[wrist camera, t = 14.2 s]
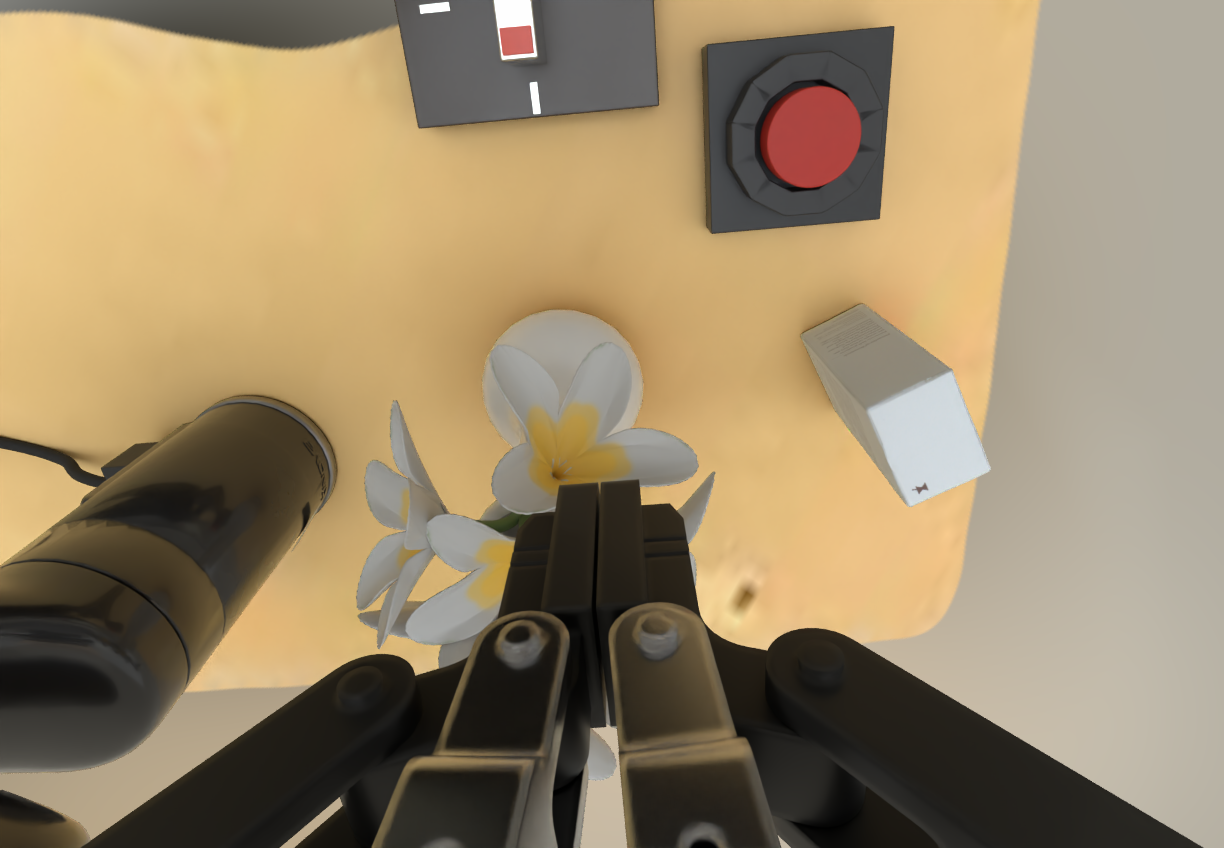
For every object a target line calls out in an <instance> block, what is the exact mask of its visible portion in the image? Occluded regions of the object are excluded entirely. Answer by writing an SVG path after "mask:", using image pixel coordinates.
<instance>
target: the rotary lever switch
mask: <svg viewBox="0 0 1224 848" xmlns="http://www.w3.org/2000/svg"><path fill="white" fill-rule="evenodd" d="M394 1H395V6H396V12H397V17H398V22H399V28H400V33H401V38H402V43H403V49H404V54H405V59H406V65H407V70H408V75H409V81H410V86H411V91H412V96H413V102H414V107H415V112H416V118H417V123H418V127H419V128H431V127H441V126H452V125H463V124H473V123H484V122H494V121H505V120H515V119H526V118H536V117H547V116H557V115H568V114H578V113H589V112H600V111H610V110H621V109H631V108H642V107H652V106H658V105H659V94H658V75H657V56H656V36H655V17H654V0H541V6H542V16H543V25H544V34H545V44H546V53H547V62H548V63H547V64H546V65H536V66H526V67H514V66H512V65H509V64H507V63H505V62H502V61H501V59H500V52H499V44H498V37H497V29H496V22H495V14H494V7H493V0H394Z"/></svg>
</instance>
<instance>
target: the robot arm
mask: <svg viewBox="0 0 1224 848" xmlns="http://www.w3.org/2000/svg"><path fill="white" fill-rule="evenodd" d="M0 448H2V449H7V450H12V451H17V452H21V453H25V454H29V455H33V456H36V457H40V458H43V459H46V460H49V461H52V462H55V463H57V464H60V465H61V466H63V467H64V468H65V470H66V472H67V473H68V474H69V475H70V476H71V477H72V478H73V479H74V480H76V481H78V482H81V483H83V484H86V485H89V486H93V487H97V488H95V489H94V490H93V491H91V492H90V493H88V494H87V495H86V496H85V497H84V498H83V499H82V501H81V503H80V506H79V507H78V508H76V509H75V510H74V511H72V512H71V513H70V514H68V515H67V516H66V517H64V518H63V519H62V520H60V521H59V522H58V523H56V524H55V525H54V526H52V527H51V528H50V529H48V530H47V531H46V532H44V533H43V534H42V535H40V536H39V537H38V538H37V539H35V540H34V541H33V542H31V543H30V544H29V545H27V546H26V547H24V548H23V549H22V550H20V551H19V552H18V553H16V554H15V555H14V556H12V557H11V558H10V559H8V560H7V561H6V562H4V563H3V564H2V565H0V774H11V773H60V772H72V771H80V770H86V769H91V768H95V767H99V766H102V765H105V764H108V763H110V762H113V761H116V760H117V759H119V758H121V757H123V756H125V755H127V754H129V753H130V752H132V751H133V750H134V749H136V748H137V747H138V746H139V745H141V744H142V743H143V742H144V741H145V740H146V739H147V738H148V737H149V736H150V735H151V734H152V733H153V732H154V731H155V729H156V728H157V727H158V726H159V725H160V723H161V722H162V721H163V719H164V718H165V717H166V715H167V714H168V713H169V711H170V710H171V709H172V707H173V706H174V704H175V703H176V702H177V700H178V699H179V698H180V696H181V695H182V694H183V692H184V691H185V690H186V688H187V687H188V686H189V684H190V683H191V682H192V680H193V679H194V678H195V676H196V675H197V673H198V672H199V671H200V669H201V668H202V667H203V665H204V664H205V663H206V661H207V660H208V659H209V657H210V656H211V655H212V653H213V652H214V650H215V649H216V648H217V646H218V645H219V643H220V642H221V641H222V639H223V638H224V637H225V635H226V634H227V632H228V631H229V630H230V628H231V627H232V626H233V624H234V623H235V622H236V620H237V619H238V618H239V616H240V615H241V614H242V612H243V611H244V610H245V608H246V607H247V605H248V604H249V603H250V601H251V600H252V599H253V597H254V596H255V595H256V593H257V592H258V591H259V589H260V588H261V587H262V585H263V584H264V582H265V581H266V580H267V578H268V577H269V576H270V574H271V573H272V572H273V570H274V569H275V568H276V566H277V565H278V564H279V562H280V561H281V559H282V558H283V557H284V555H285V554H286V553H287V551H288V550H289V549H290V547H291V546H292V545H293V543H294V542H295V541H296V539H297V538H298V537H299V535H300V534H301V533H302V531H303V530H304V531H303V533H302V535H301V536H300V538H299V540H298V542H297V543H296V545H297V544H298V543H299V541H300V539H301V537H302V536H303V534H304V532H305V530H306V529H307V527H308V525H309V524H310V522H311V520H312V518H313V517H314V515H315V514H316V513H317V512H318V511H319V510H320V509H321V508H322V507H323V506H324V504H325V503H326V501H327V500H328V499H329V497H330V495H331V493H332V491H333V489H334V486H335V482H336V462H335V458H334V455H333V452H332V449H331V447H330V445H329V443H328V441H327V439H326V438H325V436H324V435H323V433H322V432H321V431H320V430H319V428H318V427H317V426H316V425H315V424H314V423H313V422H312V421H311V420H310V419H308V418H307V417H306V416H305V415H303V414H302V413H301V412H299V411H297V410H296V409H294V408H292V407H290V406H289V405H287V404H284V403H282V402H279V401H276V400H273V399H270V398H265V397H259V396H237V397H232V398H228V399H225V400H222V401H220V402H218V403H216V404H214V405H213V406H211V407H210V408H208V409H207V410H206V411H204V412H203V413H202V414H200V415H199V416H198V417H197V418H196V419H195V421H194V422H192V423H188V424H183V425H182V426H180V427H179V428H177V429H176V430H175V431H173V432H172V433H171V434H169V435H168V436H166V437H165V438H164V439H162V440H161V441H160V442H154V443H141V444H135V445H133V446H132V447H130V448H129V449H127V450H126V451H125V452H123V453H122V454H120V455H119V456H117V457H116V458H114V459H113V460H112V461H110V462H109V463H107V464H106V465H104V466H103V467H102V468H101V470H102V472H103V475H104V477H101V476H97V475H94V474H91V473H88V472H86V471H84V470H82V469H81V468H80V467H79V465H78V464H77V462H76V461H75V460H74V459H73V458H72V457H70V456H68V455H66V454H64V453H61V452H58V451H55V450H52V449H49V448H46V447H42V446H39V445H35V444H31V443H27V442H22V441H18V440H14V439H9V438H3V437H0ZM305 527H306V528H305ZM296 545H295V547H296ZM295 547H294V548H295ZM294 548H293V549H294ZM292 551H293V550H292ZM606 701H607V702H608V710H609V719H610V726H611V727H612V726H617V734H618V744H619V762H620V775H621V785H622V795H623V806H624V816H625V828H626V839H627V848H781V845H780V842H779V838H778V835H779V837H780V838H781V839H782V840H784V841H785V842H786V843H787V844H788V845H789V846H790V847H791V848H1203V847H1201V846H1200V845H1198V844H1196V843H1194V842H1193V841H1191V840H1190V839H1188V838H1186V837H1184V836H1183V835H1181V834H1179V833H1178V832H1176V831H1174V830H1173V829H1171V828H1169V827H1167V826H1166V825H1164V824H1163V823H1161V822H1159V821H1157V820H1156V819H1154V818H1152V817H1151V816H1149V815H1147V814H1146V813H1144V812H1142V811H1140V810H1139V809H1137V808H1135V807H1134V806H1132V805H1131V804H1129V803H1127V802H1126V801H1124V800H1122V799H1120V798H1119V797H1117V796H1115V795H1114V794H1112V793H1110V792H1109V791H1107V790H1105V789H1104V788H1102V787H1100V786H1099V785H1097V784H1095V783H1093V782H1092V781H1090V780H1088V779H1087V778H1085V777H1083V776H1082V775H1080V774H1078V773H1077V772H1075V771H1073V770H1071V769H1070V768H1068V767H1067V766H1065V765H1063V764H1062V763H1060V762H1058V761H1056V760H1054V759H1053V758H1051V757H1050V756H1048V755H1046V754H1045V753H1043V752H1041V751H1040V750H1038V749H1036V748H1035V747H1033V746H1031V745H1030V744H1028V743H1026V742H1024V741H1023V740H1021V739H1019V738H1018V737H1016V736H1014V735H1013V734H1011V733H1009V732H1008V731H1006V730H1004V729H1003V728H1001V727H999V726H997V725H996V724H994V723H992V722H991V721H989V720H987V719H986V718H984V717H982V716H981V715H979V714H977V713H976V712H974V711H972V710H970V709H969V708H967V707H966V706H964V705H962V704H960V703H959V702H957V701H955V700H954V699H952V698H950V697H949V696H947V695H945V694H943V693H942V692H940V691H939V690H936V689H935V688H934V687H932V686H930V685H928V684H927V683H925V682H923V681H922V680H920V679H918V678H917V677H915V676H913V675H912V674H910V673H908V672H907V671H905V670H903V669H902V668H900V667H898V666H896V665H895V664H893V663H891V662H890V661H888V660H886V659H885V658H883V657H881V656H880V655H878V654H876V653H875V652H873V651H871V650H870V649H868V648H866V647H864V646H863V645H861V644H859V643H858V642H856V641H854V640H853V639H851V638H849V637H847V636H845V635H843V634H840V633H837V632H834V631H830V630H826V629H819V628H805V629H797V630H793V631H790V632H788V633H785V634H783V635H781V636H780V637H778V638H777V639H776V640H775V641H774V642H773V643H772V644H771V645H770V647H769V648H768V651H767V650H761V649H756V648H750V647H745V646H741V645H737V644H735V643H732V642H729V641H727V640H725V639H723V638H721V637H720V636H718V635H717V634H715V633H714V632H713V631H712V630H710V629H709V628H708V627H707V625H706V624H705V623H704V621H703V619H702V618H701V615H700V612H699V607H698V601H697V595H696V589H695V583H694V577H693V571H692V565H691V559H690V555H689V548H688V542H687V536H686V530H685V524H684V518H683V517H682V516H681V515H680V514H679V513H678V512H677V511H676V510H675V509H674V508H673V507H672V506H671V504H670V503H669V504H655V505H641V495H640V483H639V479H634V480H621V481H607V482H601V488H600V490H599V484H598V482H595V483H582V484H568V485H559V488H558V495H557V502H556V509H555V512H545V513H533V514H532V515H531V516H530V517H529V518H528V519H527V520H526V521H525V522H524V524H523V525H522V526H521V527H520V528H519V529H518V531H517V535H516V540H515V544H514V552H513V553H512V557H511V562H510V567H509V570H508V575H507V579H506V583H505V588H504V592H503V596H502V601H501V605H500V609H499V614H498V618H497V620H495V621H493V622H492V623H490V624H489V625H488V626H486V627H485V628H484V629H483V630H482V631H481V632H480V634H479V635H478V636H477V638H476V640H475V642H474V644H473V646H472V649H471V652H470V654H469V656H468V657H466V658H465V659H463V660H461V661H459V662H457V663H454V664H451V665H449V666H446V667H442V668H439V669H436V670H433V671H430V672H426V673H423V674H420V675H417V676H415V673H414V670H413V668H412V666H411V665H410V664H409V663H408V662H407V661H406V660H405V659H403V658H401V657H398V656H395V655H389V654H375V655H369V656H365V657H361V658H358V659H355V660H353V661H350V662H348V663H346V664H344V665H342V666H341V667H339V668H337V669H336V670H334V671H333V672H331V673H330V674H328V675H327V676H326V677H324V678H323V679H321V680H320V681H318V682H317V683H316V684H314V685H313V686H311V687H310V688H308V689H307V690H306V691H304V692H303V693H301V694H300V695H298V696H297V697H295V698H294V699H293V700H291V701H290V702H288V703H287V704H285V705H284V706H283V707H281V708H280V709H278V710H277V711H276V712H274V713H273V714H271V715H270V716H268V717H267V718H265V719H264V720H263V721H261V722H260V723H258V724H257V725H255V726H254V727H253V728H251V729H250V730H248V731H247V732H246V733H244V734H243V735H241V736H240V737H238V738H237V739H235V740H234V741H233V742H231V743H230V744H228V745H227V746H225V747H224V748H223V749H221V750H220V751H219V752H217V753H215V754H214V755H213V756H211V757H210V758H208V759H207V760H205V761H204V762H203V763H201V764H200V765H198V766H197V767H195V768H194V769H193V770H191V771H190V772H188V773H187V774H185V775H184V776H183V777H181V778H180V779H178V780H177V781H175V782H174V783H173V784H171V785H170V786H168V787H167V788H166V789H164V790H162V791H161V792H160V793H158V794H157V795H155V796H154V797H153V798H151V799H150V800H148V801H147V802H145V803H144V804H142V805H141V806H140V807H138V808H137V809H135V810H134V811H132V812H131V813H130V814H128V815H127V816H125V817H124V818H122V819H121V820H120V821H118V822H117V823H115V824H114V825H113V826H111V827H110V828H108V829H107V830H106V831H104V832H102V833H101V834H100V835H98V836H97V837H95V838H94V839H92V840H91V841H90V837H89V835H88V833H87V831H86V830H85V828H84V827H83V826H82V825H81V824H80V823H79V822H77V821H75V820H74V819H72V818H70V817H68V816H67V815H64V814H63V813H60V812H58V811H56V810H53V809H52V808H49V807H47V806H44V805H42V804H39V803H36V802H34V801H31V800H29V799H26V798H23V797H21V796H18V795H16V794H12V793H10V792H7V791H4V790H0V848H280V847H281V846H282V845H283V844H284V843H286V842H287V841H288V840H289V839H290V838H292V837H293V836H294V835H295V834H296V833H298V832H299V831H300V830H301V829H302V828H303V827H304V826H306V825H307V824H308V823H309V822H310V821H312V820H313V819H314V818H315V817H316V816H318V815H319V814H320V813H321V812H322V811H323V810H325V809H326V808H327V807H328V806H329V805H330V804H332V803H333V802H334V801H335V800H336V799H338V798H339V797H340V799H341V802H342V805H343V806H342V807H341V808H340V809H339V810H338V811H336V812H335V813H334V814H333V815H332V816H331V817H330V818H328V819H327V820H326V821H325V822H324V823H322V824H321V825H320V826H319V827H318V828H317V829H315V830H314V831H313V832H312V833H311V834H310V835H308V836H307V837H306V838H305V839H304V840H303V841H301V842H300V843H299V844H298V845H297V846H296V847H295V848H580V844H581V836H582V828H583V819H584V812H585V802H586V794H587V787H588V779H589V769H588V763H587V759H588V757H589V750H590V728H598V727H606ZM777 834H778V835H777Z"/></svg>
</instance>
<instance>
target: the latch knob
mask: <svg viewBox="0 0 1224 848" xmlns="http://www.w3.org/2000/svg"><path fill="white" fill-rule="evenodd" d="M493 7H494V14H495V22H496V29H497V37H498V44H499V52H500V59H501V61H502V62H505V63H507V64H509V65H512V66H514V67H526V66H536V65H546V64H547V63H548V62H547V53H546V44H545V34H544V25H543V16H542V6H541V0H493Z"/></svg>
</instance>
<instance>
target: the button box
mask: <svg viewBox="0 0 1224 848" xmlns="http://www.w3.org/2000/svg"><path fill="white" fill-rule="evenodd" d="M893 39H894V26H889V27H879V28H868V29H858V30H848V31H838V32H828V33H817V34H807V35H797V36H787V37H777V38H766V39H756V40H746V41H736V42H726V43H715V44H707V45H706V46H705V47H703V48H702V77H703V115H704V152H705V189H706V226H707V228H708V229H709V231H710V232H711V233H712V234H715V233H726V232H738V231H749V230H761V229H772V228H784V227H795V226H807V225H818V224H829V223H841V222H852V221H864V220H875V219H880V208H881V195H882V182H883V169H884V156H885V143H886V130H887V117H888V104H889V91H890V78H891V65H892V52H893ZM813 86H825V87H831V88H834V89H836V90H838V91H840V92H842V93H843V94H845V95H846V96H847V97H848V98H849V99H850V100H851V101H852V102H853V104H854V106H855V107H856V109H857V111H858V114H859V117H860V121H861V140H860V145H859V148H858V151H857V154H856V156H855V158H854V160H853V161H852V163H851V164H850V166H849V167H848V168H847V169H846V171H845V172H843V173H842V174H841V175H840V176H839V177H838V178H836V179H835V180H833V181H832V182H830V183H828V184H825V185H823V186H819V187H814V188H803V187H798V186H794V185H792V184H789V183H787V182H785V181H782V180H781V179H779V178H777V177H776V176H775V175H774V174H773V173H772V172H771V171H770V170H769V169H768V167H767V166H766V164H765V162H764V160H763V157H762V154H761V148H760V135H761V129H762V126H763V123H764V120H765V118H766V116H767V114H768V112H769V111H770V109H771V108H772V107H773V105H774V104H775V103H776V102H777V101H778V100H779V99H781V98H782V97H783V96H785V95H786V94H788V93H790V92H792V91H794V90H797V89H800V88H805V87H813Z"/></svg>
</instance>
